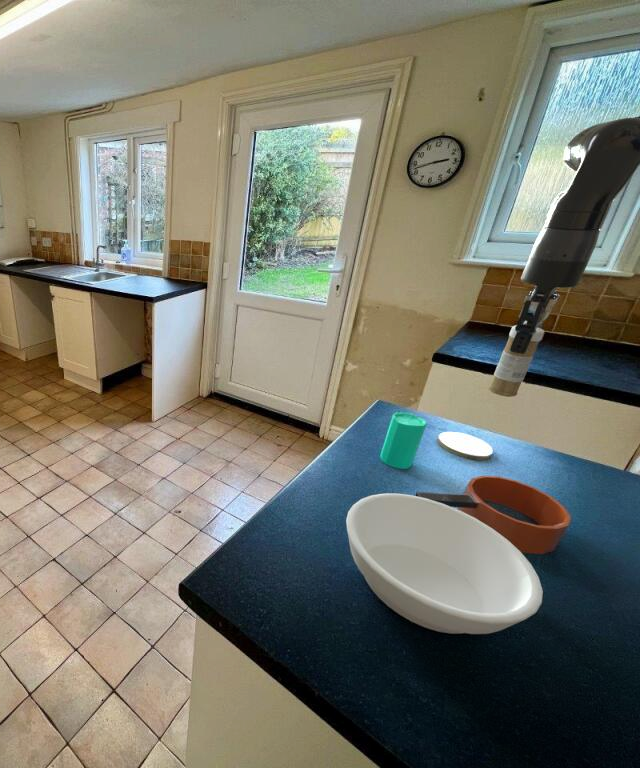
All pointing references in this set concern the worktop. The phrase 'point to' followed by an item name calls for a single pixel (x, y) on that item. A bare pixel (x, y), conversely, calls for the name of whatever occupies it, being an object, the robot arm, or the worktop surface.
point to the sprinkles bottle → (513, 366)
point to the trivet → (465, 445)
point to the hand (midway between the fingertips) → (520, 348)
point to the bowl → (441, 565)
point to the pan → (518, 498)
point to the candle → (402, 440)
